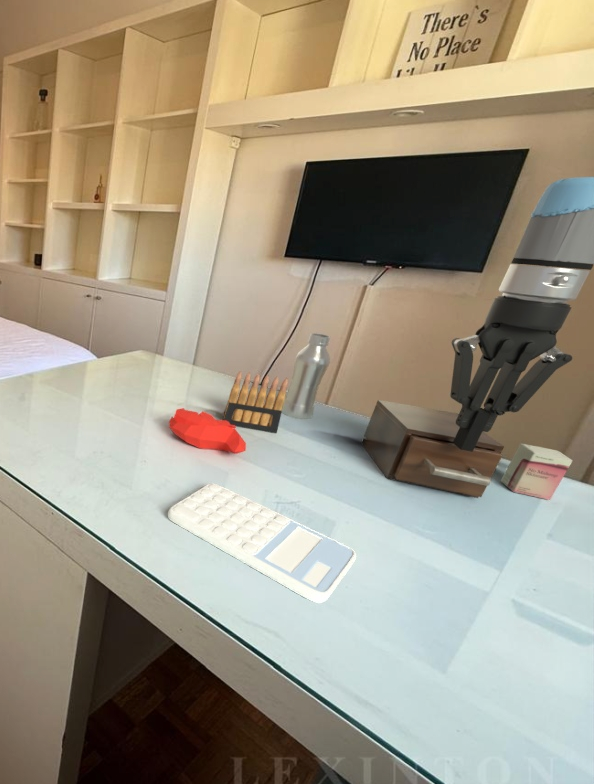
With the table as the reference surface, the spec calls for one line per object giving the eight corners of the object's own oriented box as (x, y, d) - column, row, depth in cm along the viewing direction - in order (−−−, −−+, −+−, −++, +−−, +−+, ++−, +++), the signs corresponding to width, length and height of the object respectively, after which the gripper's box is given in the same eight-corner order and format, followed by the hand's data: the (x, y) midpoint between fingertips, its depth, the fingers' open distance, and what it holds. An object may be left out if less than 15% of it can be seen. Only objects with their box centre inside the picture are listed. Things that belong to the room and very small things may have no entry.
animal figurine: (233, 468, 80) (240, 442, 78) (159, 436, 90) (163, 413, 89) (260, 451, 87) (267, 427, 86) (188, 423, 98) (193, 401, 96)
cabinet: (478, 498, 76) (504, 446, 73) (386, 478, 81) (407, 428, 77) (437, 458, 90) (457, 413, 87) (360, 443, 94) (377, 399, 91)
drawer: (496, 511, 71) (520, 467, 68) (405, 491, 75) (424, 449, 72) (441, 459, 87) (459, 422, 85) (370, 445, 91) (384, 409, 89)
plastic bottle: (312, 421, 104) (340, 336, 97) (306, 429, 99) (335, 340, 92) (281, 412, 108) (306, 330, 101) (273, 420, 103) (299, 334, 96)
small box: (511, 492, 79) (533, 452, 76) (499, 481, 83) (519, 442, 80) (551, 501, 77) (574, 460, 74) (536, 489, 81) (558, 449, 78)
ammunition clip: (222, 423, 99) (236, 371, 95) (221, 420, 101) (234, 369, 96) (276, 433, 96) (293, 380, 92) (274, 429, 98) (290, 377, 94)
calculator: (209, 489, 73) (212, 479, 72) (356, 561, 59) (361, 549, 58) (163, 518, 64) (166, 507, 64) (321, 609, 50) (327, 596, 50)
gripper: (489, 295, 63) (421, 446, 71) (617, 308, 59) (530, 468, 67) (462, 290, 69) (404, 429, 78) (576, 301, 65) (501, 447, 73)
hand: (462, 447), depth 72 cm, fingers closed
